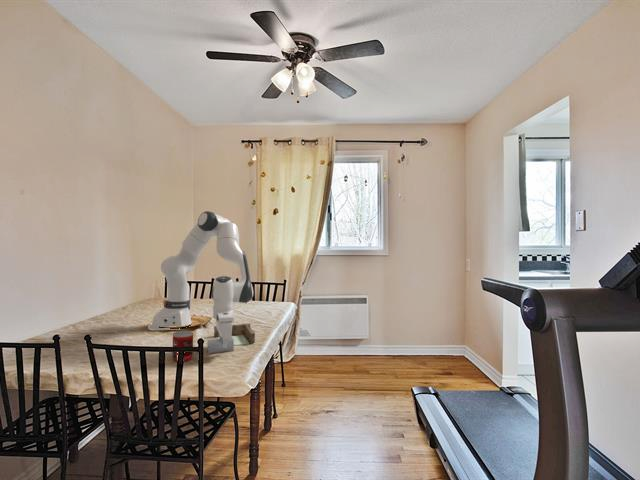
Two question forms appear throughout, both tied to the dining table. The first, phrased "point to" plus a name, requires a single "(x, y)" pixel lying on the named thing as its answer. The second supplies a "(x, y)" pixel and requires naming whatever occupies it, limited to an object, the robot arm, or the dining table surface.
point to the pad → (239, 340)
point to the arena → (240, 331)
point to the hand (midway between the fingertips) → (223, 344)
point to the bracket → (219, 345)
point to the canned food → (183, 343)
